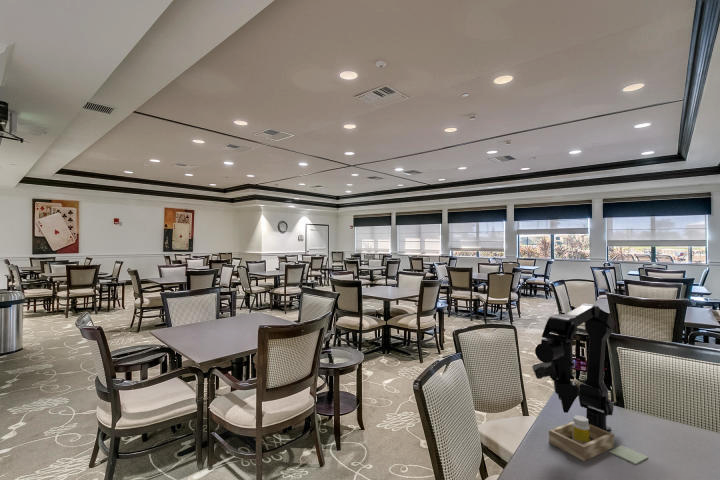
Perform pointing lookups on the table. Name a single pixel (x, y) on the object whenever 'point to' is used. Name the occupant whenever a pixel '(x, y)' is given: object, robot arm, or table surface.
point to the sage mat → (628, 454)
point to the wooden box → (585, 451)
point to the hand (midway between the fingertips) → (563, 405)
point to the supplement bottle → (581, 430)
